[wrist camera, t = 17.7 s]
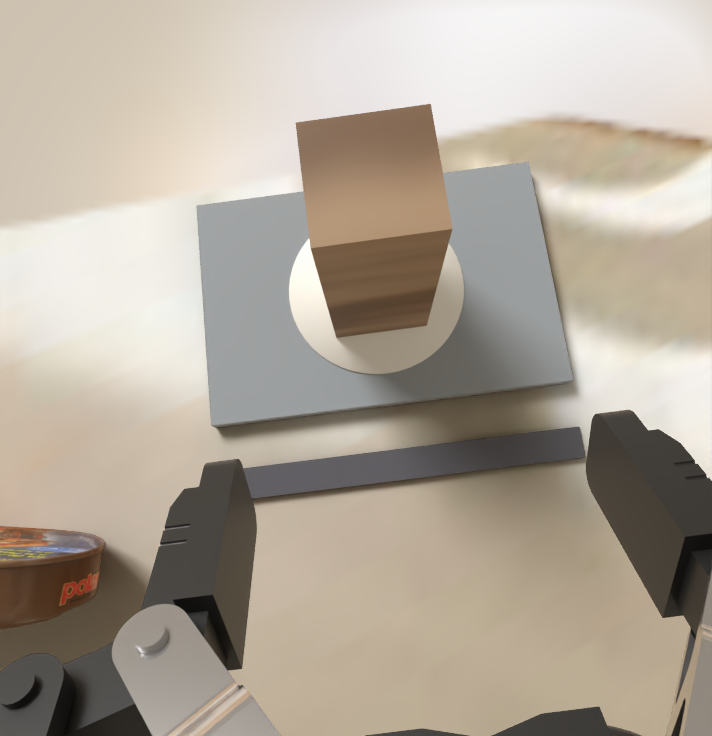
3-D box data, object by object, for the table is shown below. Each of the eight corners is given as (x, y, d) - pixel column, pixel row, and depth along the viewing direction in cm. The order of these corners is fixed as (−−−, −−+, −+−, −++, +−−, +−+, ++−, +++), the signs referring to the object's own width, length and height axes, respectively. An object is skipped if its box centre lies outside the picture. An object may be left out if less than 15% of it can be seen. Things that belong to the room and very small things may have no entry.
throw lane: (583, 457, 29) (589, 456, 28) (220, 502, 29) (215, 502, 28) (524, 169, 32) (528, 160, 31) (201, 212, 32) (195, 204, 31)
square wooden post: (426, 325, 29) (452, 228, 19) (336, 337, 30) (310, 248, 19) (413, 241, 30) (430, 103, 20) (326, 253, 31) (295, 122, 20)
